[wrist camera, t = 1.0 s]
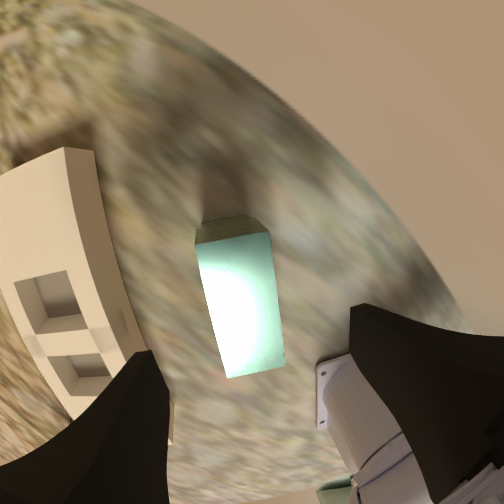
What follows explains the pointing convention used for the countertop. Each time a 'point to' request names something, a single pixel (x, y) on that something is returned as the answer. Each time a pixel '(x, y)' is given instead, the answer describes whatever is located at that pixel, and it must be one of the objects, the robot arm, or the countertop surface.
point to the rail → (65, 277)
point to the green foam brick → (241, 293)
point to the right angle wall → (336, 491)
